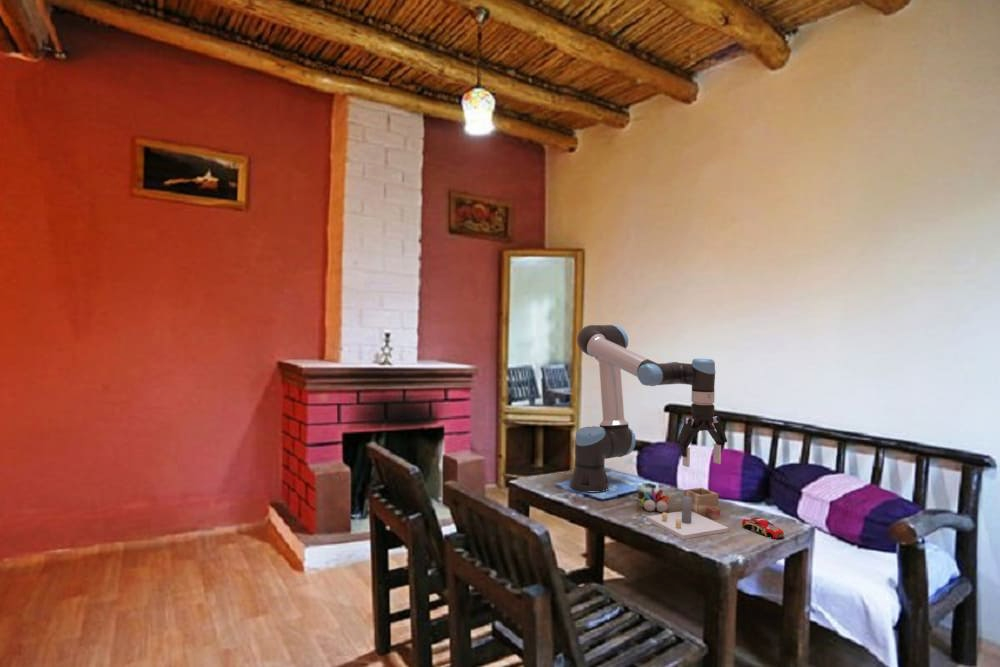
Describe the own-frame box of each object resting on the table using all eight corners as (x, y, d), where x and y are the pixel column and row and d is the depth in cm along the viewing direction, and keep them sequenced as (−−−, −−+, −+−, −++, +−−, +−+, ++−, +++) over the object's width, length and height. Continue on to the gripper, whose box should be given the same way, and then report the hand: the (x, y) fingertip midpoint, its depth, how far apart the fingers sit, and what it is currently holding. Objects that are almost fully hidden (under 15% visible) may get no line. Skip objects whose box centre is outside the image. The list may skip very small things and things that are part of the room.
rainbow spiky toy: (670, 514, 194) (671, 493, 194) (641, 512, 196) (641, 491, 196) (668, 506, 203) (668, 486, 202) (640, 504, 205) (640, 484, 204)
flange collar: (683, 509, 199) (684, 489, 199) (701, 507, 202) (702, 487, 202) (707, 520, 188) (707, 499, 188) (725, 517, 192) (726, 496, 191)
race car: (787, 539, 174) (788, 526, 174) (775, 542, 171) (776, 528, 171) (751, 524, 186) (751, 512, 185) (739, 527, 183) (739, 515, 183)
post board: (646, 519, 188) (646, 492, 188) (689, 513, 195) (689, 487, 195) (683, 539, 171) (683, 509, 171) (728, 531, 178) (729, 502, 178)
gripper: (681, 406, 188) (680, 470, 188) (738, 403, 197) (737, 464, 198) (666, 403, 195) (665, 464, 195) (722, 400, 204) (721, 459, 205)
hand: (701, 464), depth 196 cm, fingers open, 13 cm apart
